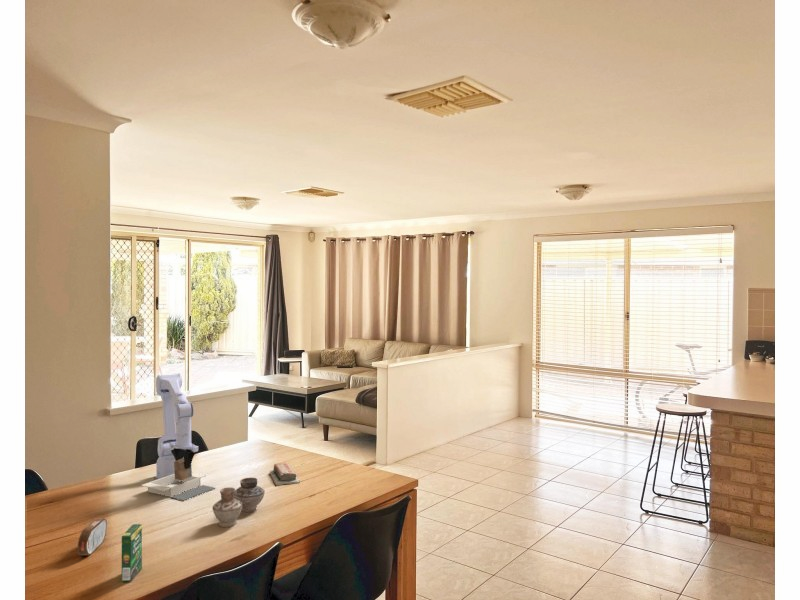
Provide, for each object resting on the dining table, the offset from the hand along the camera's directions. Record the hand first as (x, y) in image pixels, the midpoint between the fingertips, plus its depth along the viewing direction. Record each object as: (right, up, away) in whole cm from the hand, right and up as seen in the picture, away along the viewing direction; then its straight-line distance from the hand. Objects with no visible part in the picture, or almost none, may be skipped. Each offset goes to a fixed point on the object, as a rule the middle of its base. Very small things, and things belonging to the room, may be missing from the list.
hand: (183, 467), depth 230 cm
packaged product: (+37, -10, +17) cm, 42 cm away
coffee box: (+11, -11, -68) cm, 70 cm away
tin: (-8, -10, -52) cm, 54 cm away
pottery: (+29, -10, -25) cm, 40 cm away
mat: (+5, -10, -2) cm, 11 cm away
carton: (-5, -10, +3) cm, 11 cm away
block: (0, -4, 0) cm, 4 cm away
